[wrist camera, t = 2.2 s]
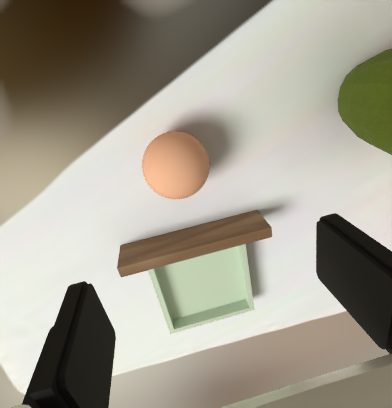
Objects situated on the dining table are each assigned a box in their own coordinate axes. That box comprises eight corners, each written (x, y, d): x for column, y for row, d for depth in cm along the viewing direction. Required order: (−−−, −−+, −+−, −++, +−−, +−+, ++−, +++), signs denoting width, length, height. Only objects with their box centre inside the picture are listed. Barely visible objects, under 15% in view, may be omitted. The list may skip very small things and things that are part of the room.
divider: (120, 245, 30) (117, 268, 27) (256, 210, 31) (271, 227, 28) (123, 254, 31) (121, 277, 27) (257, 219, 32) (272, 236, 28)
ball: (134, 134, 25) (131, 149, 20) (196, 120, 26) (209, 130, 20) (151, 191, 28) (153, 218, 23) (207, 177, 28) (221, 200, 23)
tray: (146, 254, 31) (146, 265, 29) (239, 229, 32) (244, 239, 30) (169, 320, 36) (170, 333, 34) (248, 297, 37) (254, 309, 35)
